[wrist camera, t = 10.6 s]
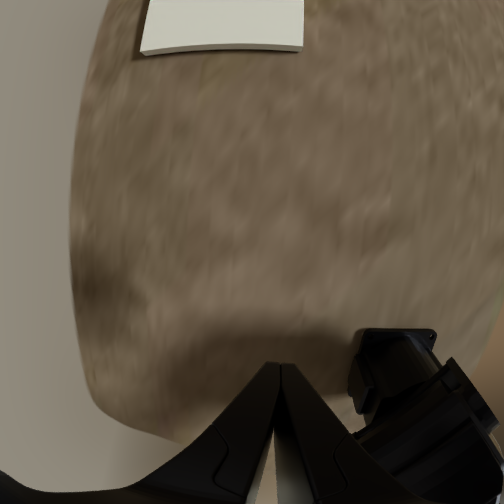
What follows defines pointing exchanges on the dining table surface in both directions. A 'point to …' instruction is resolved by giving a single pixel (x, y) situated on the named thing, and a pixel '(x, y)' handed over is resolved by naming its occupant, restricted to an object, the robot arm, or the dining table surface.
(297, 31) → the green-marked white board
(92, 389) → the dining table surface
